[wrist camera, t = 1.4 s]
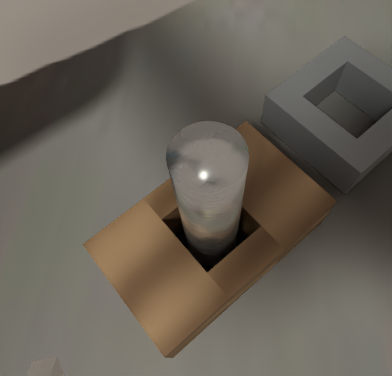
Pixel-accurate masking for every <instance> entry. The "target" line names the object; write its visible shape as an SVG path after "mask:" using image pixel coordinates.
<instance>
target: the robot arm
mask: <svg viewBox="0 0 392 376" xmlns="http://www.w3.org/2000/svg"><path fill="white" fill-rule="evenodd" d="M26 376H64V373H63V370H62V368H61V365H60V362H59V360H58V357H52V358H47V359H42V360H37V361H32V363H31V365H30V367H29V369H28V371H27V374H26Z"/></svg>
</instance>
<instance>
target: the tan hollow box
mask: <svg viewBox="0 0 392 376" xmlns="http://www.w3.org/2000/svg"><path fill="white" fill-rule="evenodd" d="M235 130H236V131H238V132H239V133H240V134H241V135H242V137H243V138H244V140H245V142H246V144H247V146H248V150H249V163H248V169H247V175H246V182H245V188H244V194H243V201H242V207H241V214H240V220H239V226H238V228H239V229H240V230H241V231H242V232H243V233H244V234H245V235H246V236H247V237H248V238H247V239H246V240H244V241H243V242H242V243H241V244H240V245H239V246H238V247H236V248H235V249H234V250H233V251H232V252H231V253H229V254H228V255H227V256H226V257H225V258H224V259H223V260H221V261H220V262H219V263H218V264H217V265H216V266H214V267H213V268H212V269H211V270H210V271H209V272H206V271H205V270H204V269H203V267H202V266H201V265H200V264H199V263H198V262H197V260H196V259H195V258H194V257H193V256H192V255H191V253H190V252H189V251H188V250H187V249H186V248H185V246H184V245H183V244H182V243H181V242H180V241H179V240H178V238H177V237H176V236H175V234H176V233H178V232H179V231H180V230H181V229H183V224H182V220H181V216H180V212H179V208H178V204H177V200H176V197H175V193H174V189H173V185H172V181H171V178H170V179H168V180H167V181H166V182H164V183H163V184H162V185H160V186H159V187H158V188H156V189H155V190H154V191H152V192H151V193H150V194H149V195H147V196H146V197H145V198H143V199H142V200H141V201H139V202H138V203H137V204H135V205H134V206H133V207H131V208H130V209H129V210H127V211H126V212H125V213H124V214H122V215H121V216H120V217H118V218H117V219H116V220H114V221H113V222H112V223H110V224H109V225H108V226H106V227H105V228H104V229H102V230H101V231H100V232H98V233H97V234H96V235H95V236H93V237H92V238H91V239H89V240H88V241H87V242H85V243H84V244H83V246H84V247H85V248H86V250H87V251H88V252H89V254H90V255H91V257H92V258H93V259H94V261H95V262H96V264H97V265H98V266H99V268H100V269H101V270H102V272H103V273H104V275H105V276H106V277H107V279H108V280H109V281H110V283H111V284H112V286H113V287H114V288H115V290H116V291H117V293H118V294H119V295H120V297H121V298H122V299H123V301H124V302H125V304H126V305H127V306H128V308H129V309H130V311H131V312H132V313H133V315H134V316H135V317H136V319H137V320H138V322H139V323H140V324H141V326H142V327H143V328H144V330H145V331H146V333H147V334H148V335H149V337H150V338H151V340H152V341H153V342H154V344H155V345H156V346H157V348H158V349H159V351H160V352H161V353H162V355H163V356H164V357H165V358H173V357H175V356H176V355H177V354H178V353H179V352H180V351H181V350H182V349H183V348H184V347H185V346H187V345H188V344H189V343H190V342H191V341H192V340H193V339H194V338H195V337H196V336H198V335H199V334H200V333H201V332H202V331H203V330H204V329H205V328H206V327H207V326H208V325H210V324H211V323H212V322H213V321H214V320H215V319H216V318H217V317H218V316H219V315H221V314H222V313H223V312H224V311H225V310H226V309H227V308H228V307H229V306H230V305H231V304H233V303H234V302H235V301H236V300H237V299H238V298H239V297H240V296H241V295H242V294H244V293H245V292H246V291H247V290H248V289H249V288H250V287H251V286H252V285H253V284H255V283H256V282H257V281H258V280H259V279H260V278H261V277H262V276H263V275H264V274H265V273H267V272H268V271H269V270H270V269H271V268H272V267H273V266H274V265H275V264H276V263H278V262H279V261H280V260H281V259H282V258H283V257H284V256H285V255H286V254H287V253H288V252H290V251H291V250H292V249H293V248H294V247H295V246H296V245H297V244H298V243H299V242H301V241H302V240H303V239H304V238H305V237H306V236H307V235H308V234H309V233H310V232H311V231H313V230H314V229H315V228H316V227H317V226H318V225H319V224H320V223H321V222H322V221H323V219H324V218H325V217H326V215H327V214H328V213H329V211H330V210H331V209H332V207H333V206H334V205H335V203H336V202H337V201H336V200H335V199H334V198H333V197H332V196H331V195H330V194H328V193H327V192H326V191H325V190H324V189H323V188H322V187H321V186H319V185H318V184H317V183H316V182H315V181H314V180H313V179H311V178H310V177H309V176H308V175H307V174H306V173H305V172H303V171H302V170H301V169H300V168H299V167H298V166H297V165H296V164H294V163H293V162H292V161H291V160H290V159H289V158H288V157H286V156H285V155H284V154H283V153H282V152H281V151H280V150H279V149H277V148H276V147H275V146H274V145H273V144H272V143H271V142H269V141H268V140H267V139H266V138H265V137H264V136H263V135H261V134H260V133H259V132H258V131H257V130H256V129H255V128H254V127H252V126H251V125H250V124H249V123H248V122H247V121H245V122H243V123H242V124H241V125H239V126H238V127H237V128H235Z"/></svg>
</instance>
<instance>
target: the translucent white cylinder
mask: <svg viewBox="0 0 392 376" xmlns="http://www.w3.org/2000/svg"><path fill="white" fill-rule="evenodd" d="M166 160H167V166H168V170H169V173H170V177H171V181H172V185H173V189H174V193H175V197H176V200H177V204H178V208H179V212H180V216H181V220H182V224H183V228H184V231H185V235H186V239H187V243H188V247H189V250H190V253H191V254H192V256H193V257H194V258H195V259H196V260H197V261H198V262H200V263H202V264H204V265H209V266H215V265H217V264H218V263H219V262H220V261H221V260H223V259H224V258H225V257H226V256H227V255H228V254H229V253H231V252H232V251H233V250H234V249H235V245H236V239H237V233H238V226H239V220H240V214H241V207H242V201H243V194H244V188H245V182H246V175H247V169H248V163H249V150H248V146H247V144H246V142H245V140H244V138H243V137H242V135H241V134H240V133H239V132H238V131H236V130H235V129H234V128H232V127H231V126H229V125H226V124H224V123H221V122H216V121H201V122H196V123H193V124H190V125H188V126H186V127H184V128H183V129H181V130H180V131H179V132H178V133H177V134H176V135H175V136H174V137H173V139H172V140H171V142H170V144H169V146H168V149H167V155H166Z"/></svg>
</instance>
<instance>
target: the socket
mask: <svg viewBox="0 0 392 376" xmlns="http://www.w3.org/2000/svg"><path fill="white" fill-rule="evenodd" d="M334 91H336V92H337V93H339V94H340V95H341V96H343V97H344V98H346V99H347V100H348V101H350V102H351V103H352V104H354V105H355V106H356V107H358V108H359V109H360V110H362V111H363V112H364V113H366V114H367V115H368V116H370V117H371V118H372V119H374V120H375V121H376V123H375V124H374V125H373V126H371V127H370V128H369V129H368V130H367V131H366V132H364V133H363V134H362V135H361V136H360V137H359V138H355V137H354V136H353V135H351V134H350V133H349V132H348V131H346V130H345V129H344V128H343V127H341V126H340V125H339V124H337V123H336V122H335V121H334V120H332V119H331V118H330V117H328V116H327V115H326V114H325V113H323V112H322V111H321V110H319V109H318V108H317V107H316V105H317V104H319V103H320V102H321V101H322V100H324V99H325V98H326V97H327V96H329V95H330V94H331V93H332V92H334ZM261 123H263V124H264V125H265V126H266V127H267V128H268V129H270V130H271V131H272V132H273V133H274V134H275V135H276V136H278V137H279V138H280V139H281V140H282V141H283V142H285V143H286V144H287V145H288V146H289V147H290V148H292V149H293V150H294V151H295V152H296V153H297V154H298V155H300V156H301V157H302V158H303V159H304V160H305V161H307V162H308V163H309V164H310V165H311V166H312V167H313V168H315V169H316V170H317V171H318V172H319V173H320V174H322V175H323V176H324V177H325V178H326V179H327V180H329V181H330V182H331V183H332V184H333V185H334V186H335V187H337V188H338V189H339V190H340V191H341V192H342V193H344V194H346V193H347V192H348V191H349V190H350V189H352V188H353V187H354V186H355V185H356V184H357V183H358V182H359V181H360V180H362V179H363V178H364V177H365V176H366V175H367V174H368V173H369V172H370V171H371V170H373V169H374V168H375V167H376V166H377V165H378V164H379V163H380V162H381V161H382V160H384V159H385V158H386V157H387V156H388V155H389V154H390V153H391V152H392V67H391V66H389V65H388V64H386V63H385V62H383V61H382V60H380V59H379V58H377V57H376V56H374V55H373V54H371V53H370V52H368V51H367V50H365V49H364V48H362V47H361V46H359V45H358V44H356V43H355V42H353V41H352V40H350V39H349V38H347V37H346V36H344V37H342V38H341V39H340V40H338V41H337V42H336V43H334V44H333V45H332V46H330V47H329V48H328V49H326V50H325V51H324V52H322V53H321V54H320V55H318V56H317V57H316V58H314V59H313V60H312V61H310V62H309V63H308V64H306V65H305V66H304V67H302V68H301V69H300V70H298V71H297V72H296V73H294V74H293V75H292V76H290V77H289V78H288V79H286V80H285V81H284V82H282V83H281V84H280V85H278V86H277V87H276V88H274V89H273V90H272V91H270V92H269V93H268V94H266V96H265V102H264V107H263V113H262V118H261Z"/></svg>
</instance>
